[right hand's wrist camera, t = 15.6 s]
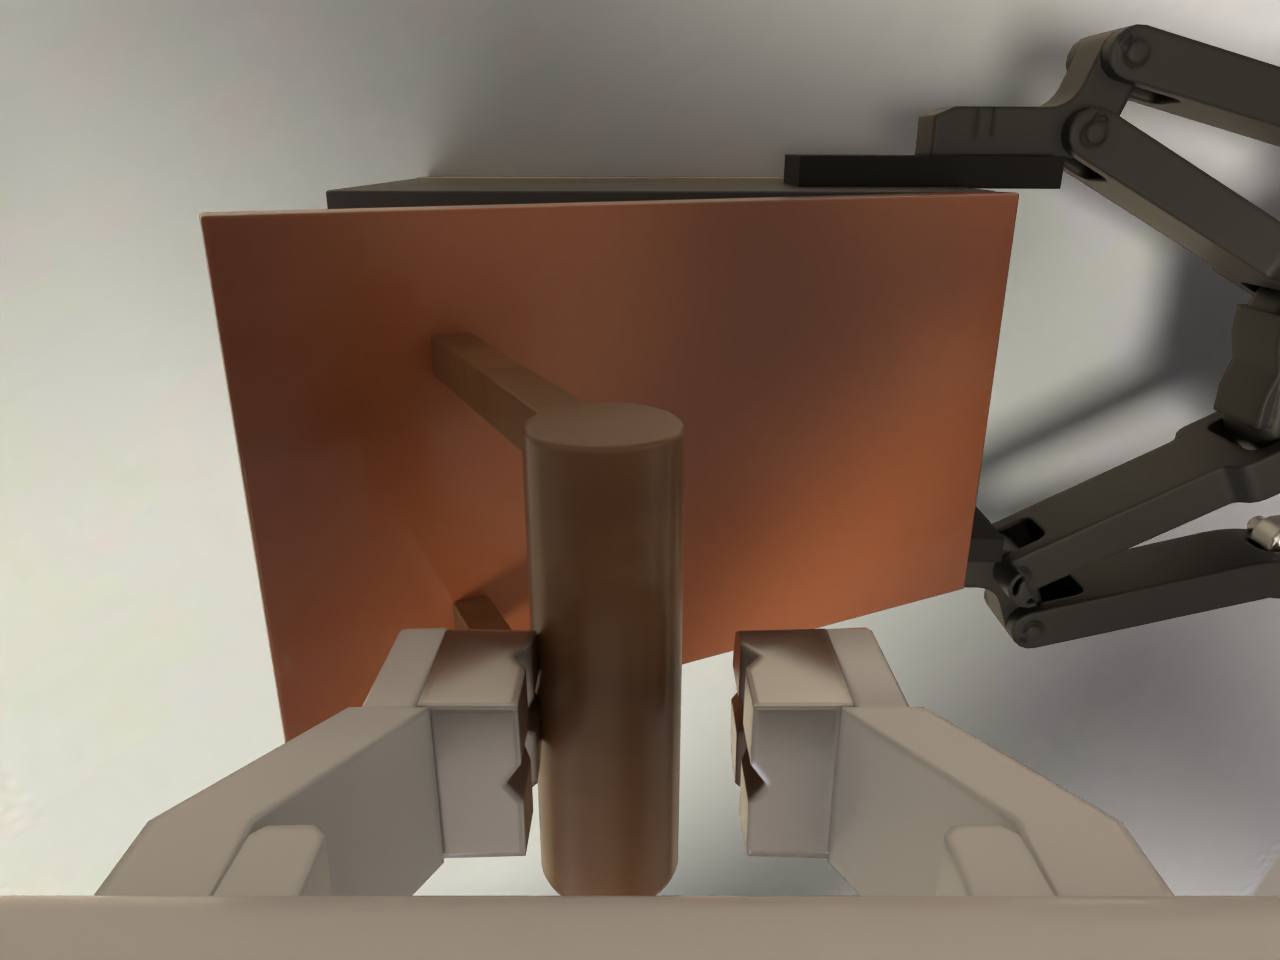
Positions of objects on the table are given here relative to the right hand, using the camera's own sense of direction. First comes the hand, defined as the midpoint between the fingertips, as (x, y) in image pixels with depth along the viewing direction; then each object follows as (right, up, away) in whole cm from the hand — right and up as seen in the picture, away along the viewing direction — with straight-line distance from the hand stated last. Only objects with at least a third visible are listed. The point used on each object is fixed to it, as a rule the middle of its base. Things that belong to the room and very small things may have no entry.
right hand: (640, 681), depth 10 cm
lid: (+1, +3, +8) cm, 9 cm away
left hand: (+4, +6, +15) cm, 16 cm away
